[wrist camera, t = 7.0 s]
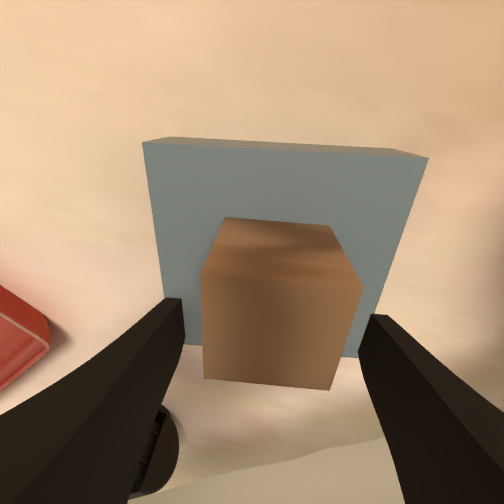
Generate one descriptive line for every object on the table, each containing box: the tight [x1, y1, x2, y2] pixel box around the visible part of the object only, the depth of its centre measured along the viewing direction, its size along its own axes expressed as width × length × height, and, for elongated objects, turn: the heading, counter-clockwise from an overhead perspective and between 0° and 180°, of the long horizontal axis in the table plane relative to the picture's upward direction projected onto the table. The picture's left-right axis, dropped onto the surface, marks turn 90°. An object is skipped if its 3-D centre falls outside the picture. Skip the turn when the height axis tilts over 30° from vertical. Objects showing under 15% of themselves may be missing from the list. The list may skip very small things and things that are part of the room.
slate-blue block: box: [142, 137, 429, 358], centre depth 15 cm, size 12×12×4 cm
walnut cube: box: [200, 217, 364, 391], centre depth 11 cm, size 5×5×5 cm
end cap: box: [128, 405, 179, 500], centre depth 24 cm, size 10×7×7 cm
